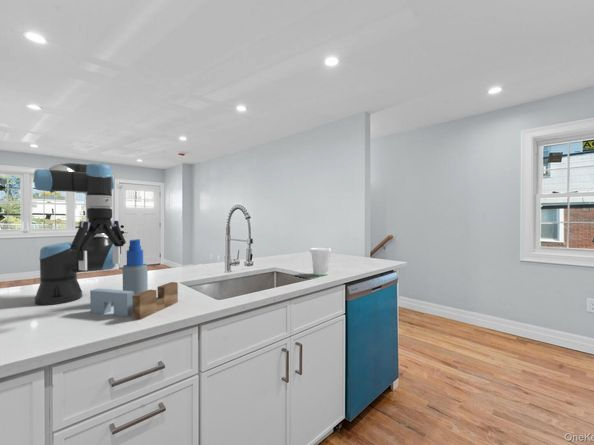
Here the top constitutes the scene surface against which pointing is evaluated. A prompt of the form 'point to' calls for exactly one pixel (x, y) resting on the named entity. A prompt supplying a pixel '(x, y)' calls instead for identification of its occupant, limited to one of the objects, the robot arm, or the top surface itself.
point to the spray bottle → (135, 269)
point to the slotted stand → (154, 300)
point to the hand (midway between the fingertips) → (100, 266)
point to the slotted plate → (104, 297)
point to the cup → (320, 260)
